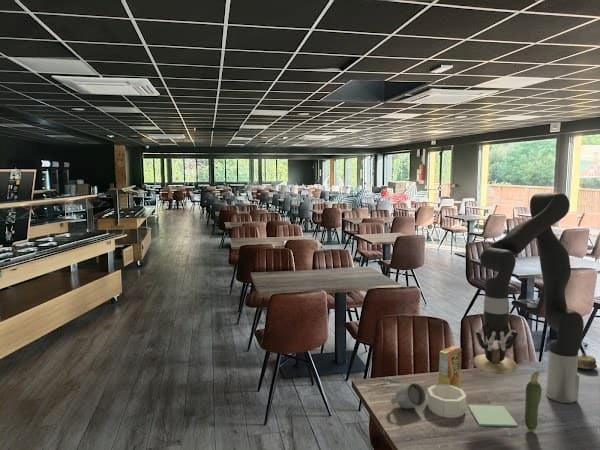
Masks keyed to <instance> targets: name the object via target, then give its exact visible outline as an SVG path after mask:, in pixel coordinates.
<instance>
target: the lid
mask: <svg viewBox="0 0 600 450" xmlns="http://www.w3.org/2000/svg"><path fill="white" fill-rule="evenodd" d="M491 351H492V361H488V360H487V358H486V357H485V355H486V353H484V354H483V353H482V354H479V355H476V356H474V357H473V366H474V367H476V368H477V369H478V370H480V371H483V372H485V373H489V374H493V375H494V374H495V375H510V374H513V373H515V372H516V371H517V369H518V365H517V363H516V362H515V360H513V359H511V358H509V357H506V356H505V358H504V360H503V361H500V349H499V347H496V346H492V348H491Z"/></svg>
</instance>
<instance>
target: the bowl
mask: <svg viewBox="0 0 600 450" xmlns="http://www.w3.org/2000/svg"><path fill="white" fill-rule="evenodd" d="M426 393H427V394H426V395H427V396H426V401H427V402H426V403H427V407H428V410H429V411H430V412H431V413H433V414H434V415H437V416H439V417H441V416H442V417H443V418H447V419H456V418H461V417H463V416H464V415H465V412H466V411H467V394H466V392H465V391H464V389H462V388H461V387H459V388H457V387H455V386H452V385H449V384H439V383H438V384H437V383H435V384H432V385H431V386H429V387H427V391H426Z"/></svg>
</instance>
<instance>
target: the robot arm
mask: <svg viewBox="0 0 600 450" xmlns="http://www.w3.org/2000/svg"><path fill="white" fill-rule="evenodd" d="M570 206H571V204H570V200H569V198H568V196H567V195H566V194H565V193H562V192H544V193H543V192H542V193H535V194H533V195H532V196H531V198H530V201H529V212H530V216H531V218H529V219H527V220H525V221H523V222H521V223H519V224H517V225H515V226H514V227H513V228H512V229H511V230H509V231H508V233H507V234H506V235H505V236H504V237H502V238H501V239H498V240H496V241H494V242H493V243H491V244H490V245H488V246H487V247H485V248H484V249H483V250H482V251H481V254H480V257H479V258H480V259H479V262H480V265H482V267H483V268H484V269H487V270H493V271H497V274H496V276H489V277H487V278H486V279H485V283H484V298H483V300H484V301H483V324H482V326H481V328H480V329H478V330H477V329H475V330H473V333H474V336H475V338H476V339H477V343H478V344H479V346H480V348H481V349H483V350H485V354H486V355H485V357H486V358H487V360H488V361H492V351H491V348H492V347H493V345H494V341H497V343H498V348H499V349H500V361H503V360H504V358H505V357H506V356H505V355H506V350H511V348H512V347H513V344H514V343H515V341H516V339H517V337H518V335H519V334H518V332H517V331H515V330H514V329H511V328H510V326H509V321H510V319H509V318H510V300H509V296H510V295H509V292H510V284H511V283H510V282H511V279H512V276H513V274H514V270H515V268H516V264H517V263H516V262H517V261H516V257H515V256H517V255H520V254H521V253H522V252H523V251H524V250H525V249H526V248H527V247H528V246H529V244H531V242H532V241H534V239H536V243H537V249H538V255H539V264H540V270H541V277H542V283H543V292H544V303H545V304H544V308H545V309H544V310H545V313H544V314H545V320H546V324H547V325H548V326H549V328H550V329H552V330H553V331H555V332H557V336H556V339H553V340H550V342H549V343H548V355H547V357H548V359H547V372H546V373H547V374H546V375H547V376H546V388H545V390H546V393H545V395H546V397H547V398H549V399H550V400H551V401H555V402H558V403H563V404H572V403H574V402H579V387H580V375H579V374H578V367H577V365H578V356H579V352H580V351H579V350H580V349H581V347H582V343H583V335H584V326H585V325H584V323H585V322H584V318H583V316H582V315H581V314H580V313H579V312H577V311H576V310H573V309H570V308H568V306H567V305H568V304H567V302H566V301H567V300H566V294H565V292H566V288H567V286H568V283H569V281H570V278H571V273H572V269H571V266H572V265H571V260H570V253H569V252H568V250H567V249H566V248H565V245H564V244H563V243H562V242H561V240H560V239H559V238H558V237H557V236H556V234H555V233H554V231H553V229H552V226H554V225H555V224H556V223H558V222H559V221H561V220H562V219H563V218H565V216H567V214H568V213H569V210H570ZM484 335H485V342H484V340H483V338H482V337H484ZM507 335H508V336H507ZM506 336H507V337H506ZM505 338H507V339H506V340H505Z"/></svg>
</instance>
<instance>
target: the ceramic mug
mask: <svg viewBox="0 0 600 450" xmlns="http://www.w3.org/2000/svg"><path fill="white" fill-rule="evenodd" d="M426 395H427V394H426V392H425V389H424V388H423V386H422V385H421V384H419V383H418V382H411V383H409V384H406V385H404V386H401V387H399V389H397V391H396V393H395V398H391V399H390V402H391V405H394V404H398V406H399V407H400V408H402V409H406V410H410V409H413V408H415V409H416V408H420V407H422V406H424V404H425V402H426V400H427V396H426Z"/></svg>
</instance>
